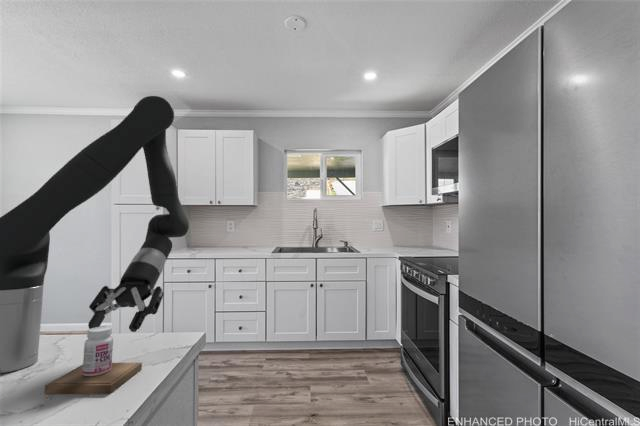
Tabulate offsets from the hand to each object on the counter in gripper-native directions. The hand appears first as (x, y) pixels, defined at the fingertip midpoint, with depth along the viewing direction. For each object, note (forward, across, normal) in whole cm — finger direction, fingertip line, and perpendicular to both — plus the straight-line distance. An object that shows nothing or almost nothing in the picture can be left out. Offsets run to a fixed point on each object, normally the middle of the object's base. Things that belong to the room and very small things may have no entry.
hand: (112, 330), depth 65 cm
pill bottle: (+8, 0, +3) cm, 8 cm away
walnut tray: (+9, 0, +4) cm, 10 cm away
